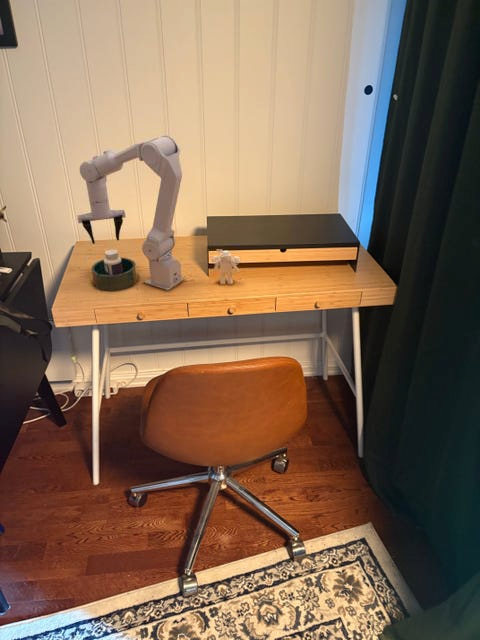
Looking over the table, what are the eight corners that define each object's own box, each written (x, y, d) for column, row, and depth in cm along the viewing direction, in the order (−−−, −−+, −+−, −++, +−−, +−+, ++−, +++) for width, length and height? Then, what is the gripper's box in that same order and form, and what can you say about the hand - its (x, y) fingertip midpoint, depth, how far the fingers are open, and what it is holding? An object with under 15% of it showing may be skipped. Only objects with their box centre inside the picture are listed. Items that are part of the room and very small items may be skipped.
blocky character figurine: (211, 284, 150) (210, 250, 144) (213, 279, 154) (212, 244, 147) (240, 285, 150) (240, 250, 143) (241, 280, 153) (241, 245, 147)
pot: (138, 269, 159) (136, 256, 157) (136, 289, 148) (134, 275, 145) (96, 272, 158) (94, 258, 155) (91, 292, 146) (88, 277, 144)
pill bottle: (126, 276, 155) (122, 248, 149) (121, 284, 150) (117, 255, 145) (110, 275, 155) (105, 247, 150) (104, 283, 151) (99, 255, 145)
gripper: (120, 193, 152) (126, 233, 159) (73, 198, 148) (81, 239, 155) (124, 200, 147) (129, 241, 154) (75, 205, 142) (83, 247, 150)
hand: (105, 240), depth 154 cm, fingers open, 7 cm apart
